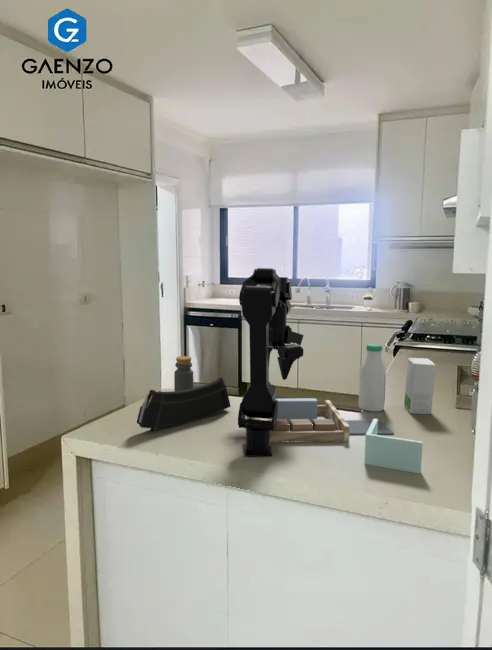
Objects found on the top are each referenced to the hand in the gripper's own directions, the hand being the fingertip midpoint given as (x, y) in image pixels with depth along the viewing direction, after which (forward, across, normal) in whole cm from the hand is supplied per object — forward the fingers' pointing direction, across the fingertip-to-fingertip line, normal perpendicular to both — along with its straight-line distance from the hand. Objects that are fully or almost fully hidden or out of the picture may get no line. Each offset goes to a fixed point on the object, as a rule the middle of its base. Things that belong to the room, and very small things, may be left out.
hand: (275, 375), depth 138 cm
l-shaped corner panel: (+12, -38, -8) cm, 41 cm away
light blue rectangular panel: (+12, -7, -2) cm, 15 cm away
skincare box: (+14, -16, -42) cm, 47 cm away
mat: (+12, -19, -16) cm, 28 cm away
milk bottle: (+14, -8, -31) cm, 35 cm away
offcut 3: (+12, -18, -3) cm, 22 cm away
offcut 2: (+12, -16, +3) cm, 20 cm away
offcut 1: (+12, -13, +8) cm, 19 cm away
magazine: (+12, +9, +24) cm, 28 cm away
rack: (+12, -10, 0) cm, 16 cm away
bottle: (+13, +24, +18) cm, 33 cm away
